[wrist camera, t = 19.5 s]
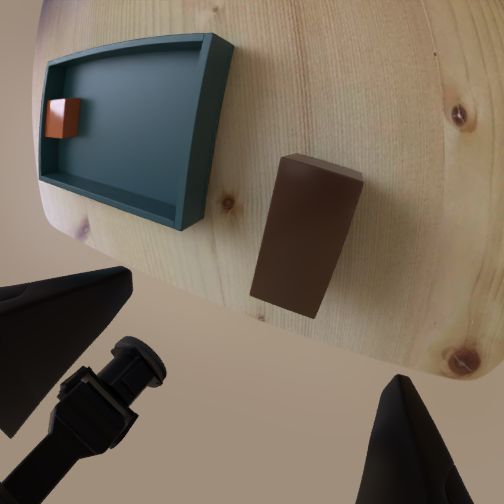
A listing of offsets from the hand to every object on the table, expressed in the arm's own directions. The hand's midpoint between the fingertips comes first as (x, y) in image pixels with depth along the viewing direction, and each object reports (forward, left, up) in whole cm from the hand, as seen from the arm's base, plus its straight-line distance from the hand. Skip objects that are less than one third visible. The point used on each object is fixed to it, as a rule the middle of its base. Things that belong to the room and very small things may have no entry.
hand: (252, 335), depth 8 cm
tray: (-11, +15, -12) cm, 22 cm away
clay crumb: (-17, +20, -11) cm, 28 cm away
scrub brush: (0, 0, -12) cm, 12 cm away
